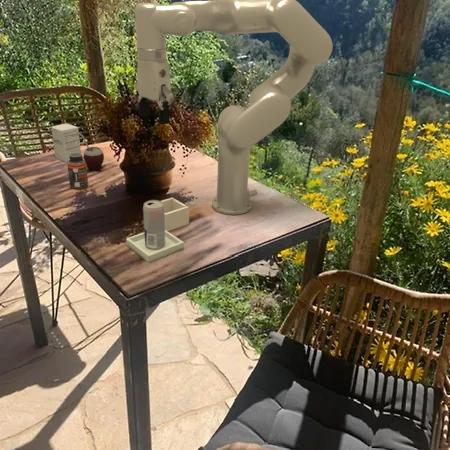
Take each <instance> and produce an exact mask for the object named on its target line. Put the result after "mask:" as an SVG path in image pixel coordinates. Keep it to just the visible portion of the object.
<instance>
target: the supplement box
mask: <svg viewBox="0 0 450 450" xmlns="http://www.w3.org/2000/svg"><path fill="white" fill-rule="evenodd" d="M75 131H77V132H79V127H78V126H76V125H73V124H70V123H61V124H58V125H52V126H51V134H52V135H51V136H52V141H53V149H54V155H55V159H58V160H61V161H63V162H65V163H68V161H69V160H70V157H69V155H70V154H73V153H80V154H82V151H81V141H80V135H79V134H78V133H77V132H75ZM79 133H80V132H79Z"/></svg>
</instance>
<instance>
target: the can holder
mask: <svg viewBox="0 0 450 450" xmlns="http://www.w3.org/2000/svg"><path fill="white" fill-rule="evenodd" d="M160 201H161V202H163V205H164V215H165V230H166V231H168V232H171V231H173V230H175V229H179V228H181V227H184V226H187V225H189V224H190V206H188V205H186V204H185V203H183V202H181V201H180V200H177V199H176V198H174V197H170V198H166V199H162V200H160Z"/></svg>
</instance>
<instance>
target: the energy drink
mask: <svg viewBox="0 0 450 450" xmlns="http://www.w3.org/2000/svg"><path fill="white" fill-rule="evenodd" d="M161 201H162V200H158V199H150V200H147V201H145V202H144V203H143V207H142V211H143V231H144V234H145V245H146V247H147V248H149V249H160V248H162V247H163V246H164V245H165V215H164V205H163V202H161Z"/></svg>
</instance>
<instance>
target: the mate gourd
mask: <svg viewBox="0 0 450 450" xmlns="http://www.w3.org/2000/svg"><path fill="white" fill-rule="evenodd" d="M75 132H77V131H75ZM77 133H78V134H79V136H80V137H81V138H82V140H83V141H84V144H85V147H87V148H85V150H84V152H83V160H84V161H85V162H86V169H87V173H91V172H94V171H96V172H98V173H101V172H102V169H103V163H104V160H105V155H104V152H103V150H102V149H101V148H100V147H97V146H89V145H88V143H87V141H86V138H85V136H84V135H83V134H82V133H80V132H77Z"/></svg>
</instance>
